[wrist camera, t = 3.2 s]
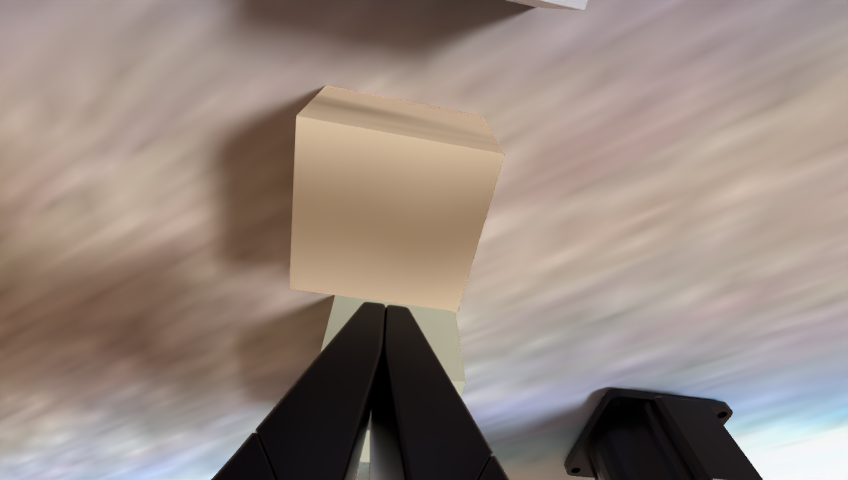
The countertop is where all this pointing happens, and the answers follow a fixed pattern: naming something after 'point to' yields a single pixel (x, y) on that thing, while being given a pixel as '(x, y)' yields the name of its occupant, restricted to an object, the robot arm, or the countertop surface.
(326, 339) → the sage block one
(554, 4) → the white die
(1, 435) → the countertop surface
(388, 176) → the birch block
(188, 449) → the countertop surface
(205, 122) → the countertop surface
